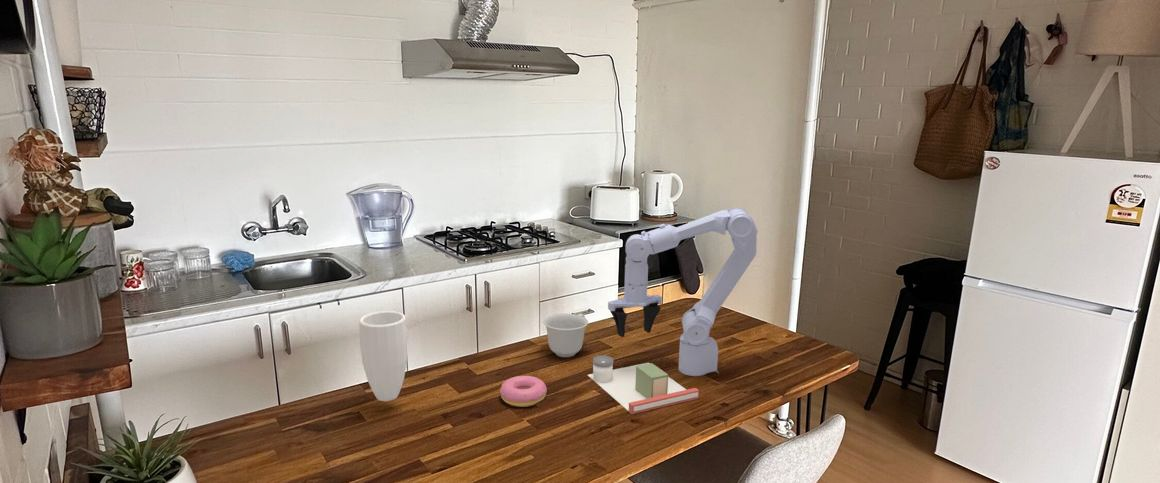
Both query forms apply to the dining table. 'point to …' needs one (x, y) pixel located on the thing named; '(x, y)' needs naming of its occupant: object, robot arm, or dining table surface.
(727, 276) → the robot arm
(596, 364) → the spice jar
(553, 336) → the teacup
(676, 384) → the shelf board
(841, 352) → the dining table surface
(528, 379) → the doughnut
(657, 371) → the carton
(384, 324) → the white vase
